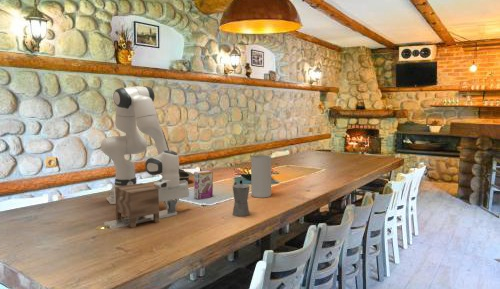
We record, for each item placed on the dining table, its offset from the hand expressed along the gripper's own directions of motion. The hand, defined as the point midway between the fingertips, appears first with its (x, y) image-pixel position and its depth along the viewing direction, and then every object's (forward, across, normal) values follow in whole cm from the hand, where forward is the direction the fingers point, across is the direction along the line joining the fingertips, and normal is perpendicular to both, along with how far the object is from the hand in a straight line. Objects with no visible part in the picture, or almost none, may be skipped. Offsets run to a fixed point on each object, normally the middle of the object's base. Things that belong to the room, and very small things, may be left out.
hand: (171, 207), depth 199 cm
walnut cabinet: (+3, +19, 0) cm, 19 cm away
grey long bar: (+3, +16, 0) cm, 17 cm away
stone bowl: (+4, -45, -70) cm, 83 cm away
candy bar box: (+3, -33, -18) cm, 38 cm away
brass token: (+4, +36, 0) cm, 37 cm away
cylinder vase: (+3, -63, +2) cm, 63 cm away
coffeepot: (+3, -27, +24) cm, 36 cm away
